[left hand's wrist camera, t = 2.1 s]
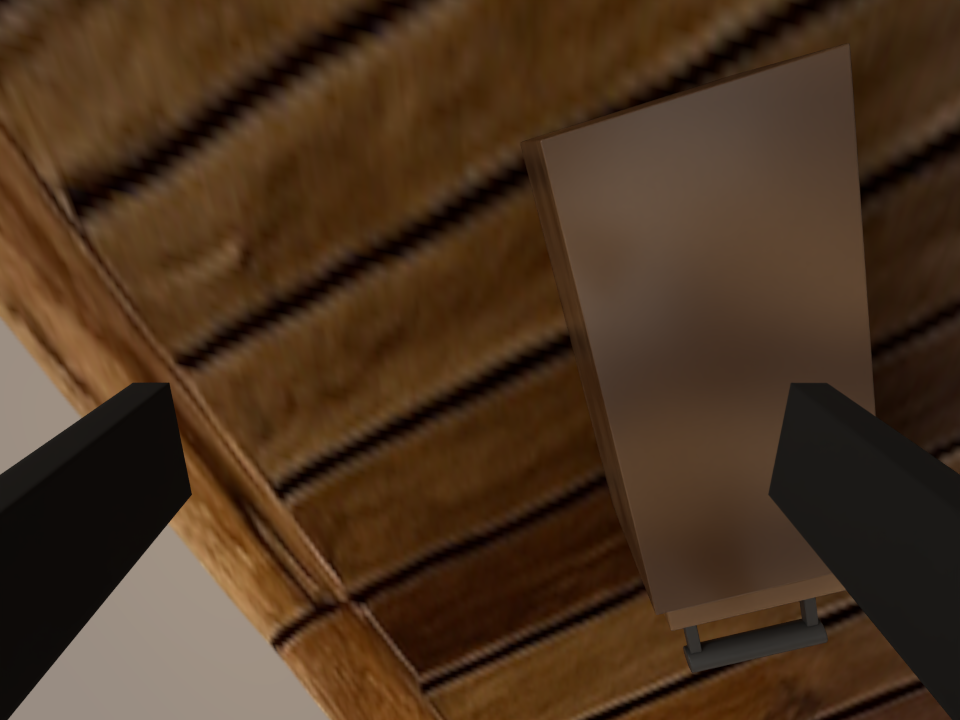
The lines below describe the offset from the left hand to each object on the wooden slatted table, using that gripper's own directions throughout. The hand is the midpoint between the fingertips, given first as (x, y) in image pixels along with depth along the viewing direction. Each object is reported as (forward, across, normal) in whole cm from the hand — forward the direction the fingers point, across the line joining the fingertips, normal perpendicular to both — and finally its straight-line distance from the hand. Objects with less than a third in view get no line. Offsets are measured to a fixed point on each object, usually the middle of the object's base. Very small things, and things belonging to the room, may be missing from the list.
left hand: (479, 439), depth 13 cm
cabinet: (+18, +10, -2) cm, 20 cm away
